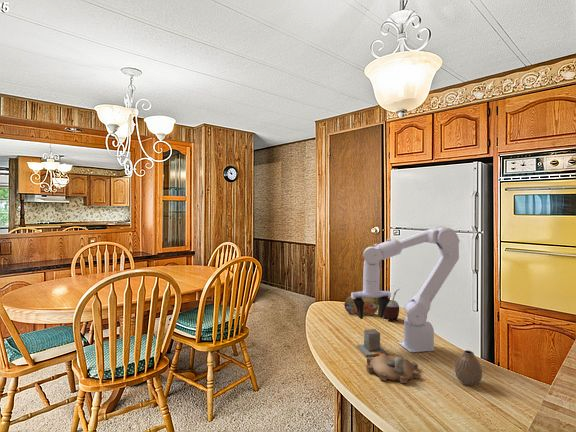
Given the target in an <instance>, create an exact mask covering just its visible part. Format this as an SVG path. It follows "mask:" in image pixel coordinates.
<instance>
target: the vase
mask: <svg viewBox="0 0 576 432" xmlns="http://www.w3.org/2000/svg"><path fill="white" fill-rule="evenodd" d="M455 360H456V361H455V363H454V374H455V376H456V378H457V379H458V381H459V382H460V383H461V384H463V385H465V386H469V387H474V386H476V385H478V384H479V383H480V382H481V380H482V378H483V369H482V364H481V363H480V361H479V360H478V358H477V357H476V355H475V353H474V352H473V351H472V350H468V349H467V350H463V352H462V353H461V355H459V356H458V357H457V358H456V359H455Z"/></svg>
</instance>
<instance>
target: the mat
mask: <svg viewBox="0 0 576 432" xmlns="http://www.w3.org/2000/svg"><path fill="white" fill-rule="evenodd" d="M356 348H357V349H358V350H359V351H360V352H361V353H362V355H364V356H365V358H368V357H376V356H379V354H385V355H389V352H388V351H387V350H386V349H385V348H384V347H382V346H381V345H380V351H370V352H369V351H368V350H367V349H366V348H365V347H364V344H356ZM389 356H390V355H389Z"/></svg>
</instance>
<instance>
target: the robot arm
mask: <svg viewBox="0 0 576 432" xmlns="http://www.w3.org/2000/svg"><path fill="white" fill-rule="evenodd" d="M422 243H430V244H435V245H436V246H437V247H438V249H439V252H440V255H441V256H440V257H439V259H438V261H437V262H436V263H435V265H434V267H433V268H432V270H431V272H430V273H429V275H428V276H427V278H426V279H425V281H424V283H423V285H422V286H421V288H420V289H419V291H418V292H417V293H416V294H415V295H413V297H412V298H411V299H410V300H409V301H407V302H406V303H405V305H404V309H403V310H404V312H405V314H406V317H405V318H404V322H403V324H404V325H403V341H399V342H398V344H399V345H400V346H401V347H403V348H404V349H405V350H407V351H408V352H409V353H422V352H423V353H424V352H434V351H435V350H436V349H435V348H434V340H435V331H434V327H433V325H432V323H431V322H429V321H427V319H428V313H429V312H430V310H431V304H432V301H433V300H434V299H435V297H436V295H437V294H438V292H439V291H440V290H441V288H442V286H443V284H444V283H445V281H446V280H447V278H448V277H449V275H450V273H451V272H452V270H453V269H454V267H455V266H456V264H457V262H458V261H459V258H460V245H459V244H460V239H459V235H458V234H457V231H455V230H454V229H452V228H449V227H445V226H442V225H441V226H436V227H435V228H429V229H426V230H423V231H420V232H418V233H417V232H416V234H413V235H410V236H408V237H405V238H403V239H395V238H392V239H391V238H387V239H386V241H384V242H383V241H382V242H381V243H379V244H377V243H375V244H373V246H368V247H366V248H365V249H364V250H363V254H362V256H363V260H364V261H363V269H362V271H363V272H362V275H363V277H362V290H361V291H353V292H351V293H350V296H351V298H352V299H353V301H354V303H355V305H356V308H357V311H358V315H357V317H358V318H359V319H360V320H363V319H364V315H363V306H364V301H363V299H362V298H374V299H375V298H376V299H377V303H378V309H377V315H378V316H377V317H379V318H381V319H383V317H384V315H383V314H384V311H385V308H386V306H387V304H388V303H389V300H390V299H391V297H392V292H391V291H389V290H380V276H381V274H380V273H381V272H380V269H381V268H380V261H381V260H382V261H384V260H387V259H389V258H393V257H394V256H395V257H396V256H397V255H401V253H402V251H403V250H404V249H407V248H410V247H413V246H416V245H421V244H422Z"/></svg>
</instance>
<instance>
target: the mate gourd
mask: <svg viewBox="0 0 576 432" xmlns="http://www.w3.org/2000/svg"><path fill="white" fill-rule="evenodd" d="M398 291H400V288H398V289H396V290H395V291H394V293H393V296H392V299H389V303H388V304H387V306H386V308H385V311H384V314H383V318H382V319H384V320H387V322H389V323H390V322H391V321H395V322H398V321H399V319H398V318H399V314H400V305H399V303H398V301H396V300H395V297H396V295H397V292H398Z"/></svg>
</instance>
